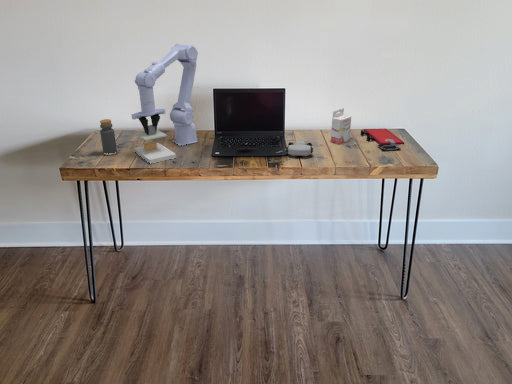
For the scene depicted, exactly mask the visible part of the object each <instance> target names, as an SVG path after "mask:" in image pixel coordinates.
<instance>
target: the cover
mask: <svg viewBox="0 0 512 384" xmlns="http://www.w3.org/2000/svg"><path fill="white" fill-rule="evenodd" d="M148 131H149V134H146V133H145V131H141V132H137V133H135V136H136V137H138V138H140V139H141V140H143V141H145V142H146V141H149V140H155V139H158V138H159V139H160V138H164V137H167V136H168V134H166V133H165V132H163V131H160V129H157V130H156V131H155V126H153V125H152V124H150V125H149V124H148Z"/></svg>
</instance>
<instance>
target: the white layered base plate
mask: <svg viewBox="0 0 512 384" xmlns="http://www.w3.org/2000/svg"><path fill="white" fill-rule="evenodd" d="M156 143H157V148H156V149H151V150H145V149H144V145H142V146H138V147H133V148H132V149H133V152H134V151H135V152H136V153H137V154H138V155H139V156H141V157H142V158H143V159H142V158H141V157H140V158H141V159H142V160H144V159H145V160H146V161H147V162H146V161H145V160H144V161H145V162H146V163H148V162H149V163H150V164H149V163H148V164H149V165H152V164H151V163H155V164H157V163H156V162H159V163H161V162H160V161H163V162H165V161H164V160H167V161H170V160H169V159H172V160H175V159H174V158H176V159H177V154H176V153H175V152H173V151H172V150H170V149H169V148H167V147H165V146H164V145H162V144H161V143H160V142H156ZM137 154H136V155H137ZM138 155H137V156H138ZM139 156H138V157H139Z"/></svg>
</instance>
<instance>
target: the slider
mask: <svg viewBox="0 0 512 384" xmlns="http://www.w3.org/2000/svg"><path fill="white" fill-rule="evenodd" d="M157 143H158V142H156V141H154V140H153V141H149V142H144V143H143V144H142V145H143V146H144V149H145V150H151V149H156V148H157Z"/></svg>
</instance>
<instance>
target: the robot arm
mask: <svg viewBox="0 0 512 384" xmlns="http://www.w3.org/2000/svg"><path fill="white" fill-rule="evenodd" d="M198 55H199V52H198V50H197V48H196V46H195V45H193V44H192V45H188V44H180V43H176V44H174V45H173V46H171V48H170V51H168V53H166V55H164V57H163V58H162V59H161V60H160V61H152V63H151V64H150V66H148V67H147V68H145V69H144V70H143V72H142V71H140V72H138V73H137V74H136V76H135V79H134V83H135V84H136V86H137V90H138V92H139V101H140V108H141V111H139V112H135V113H132V114H131V115H130V116H131V119H132V120H133V121H134V120H137V119H138V121H139V122H140V123H141V126H142V129H144V132H145V133H146V134H149V131H148V126H149V119H148V118H147V117H150V120H151V125H153V126H155V131H156V130H158V124H159V122H160V119H161V116H160V115H166V109H165V108H157V109H156V105H155V103H156V102H155V95H154V86H155V84H156V81H157V80H158V79H159V78H160V77H162V75H164V73H165V71H166V69H167V68H168V67H169V66H170V65H171V64H173V63H175V62H176V61H178V62H179V63H180V64H181V65H182V67H183V69H182V75H181V81H180V87H179V91H178V92H179V93H178V96H177V97H178V98H177V102H175V103H174V104H173V105H172V107H171V108H172V109H171V111H170V113H169V119H170V121H171V122H172V124H173V125H174V136H175V138H174V140H172V141H173V143H174V142H175V143H176V145H177V144H178V145H177V146H179V147H181V145H182V146H186V144H187V145H191V144H194V143H198V137H197V128H196V125H195V123H194V122H193V121H194V113H193V112H194V108H193V107H192V106H191V103H190V102H191V99H192V94H193V93H192V92H193V88H194V87H193V86H194V82H195V76H196V71H197V59H198ZM175 143H174V144H175Z"/></svg>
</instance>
